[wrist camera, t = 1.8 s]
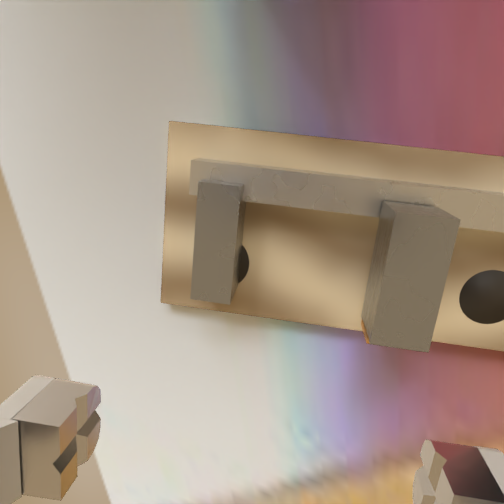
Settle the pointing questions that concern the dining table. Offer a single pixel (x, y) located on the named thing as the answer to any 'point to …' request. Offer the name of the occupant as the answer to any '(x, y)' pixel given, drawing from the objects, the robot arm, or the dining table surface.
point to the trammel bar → (302, 196)
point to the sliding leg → (407, 275)
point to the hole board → (331, 233)
